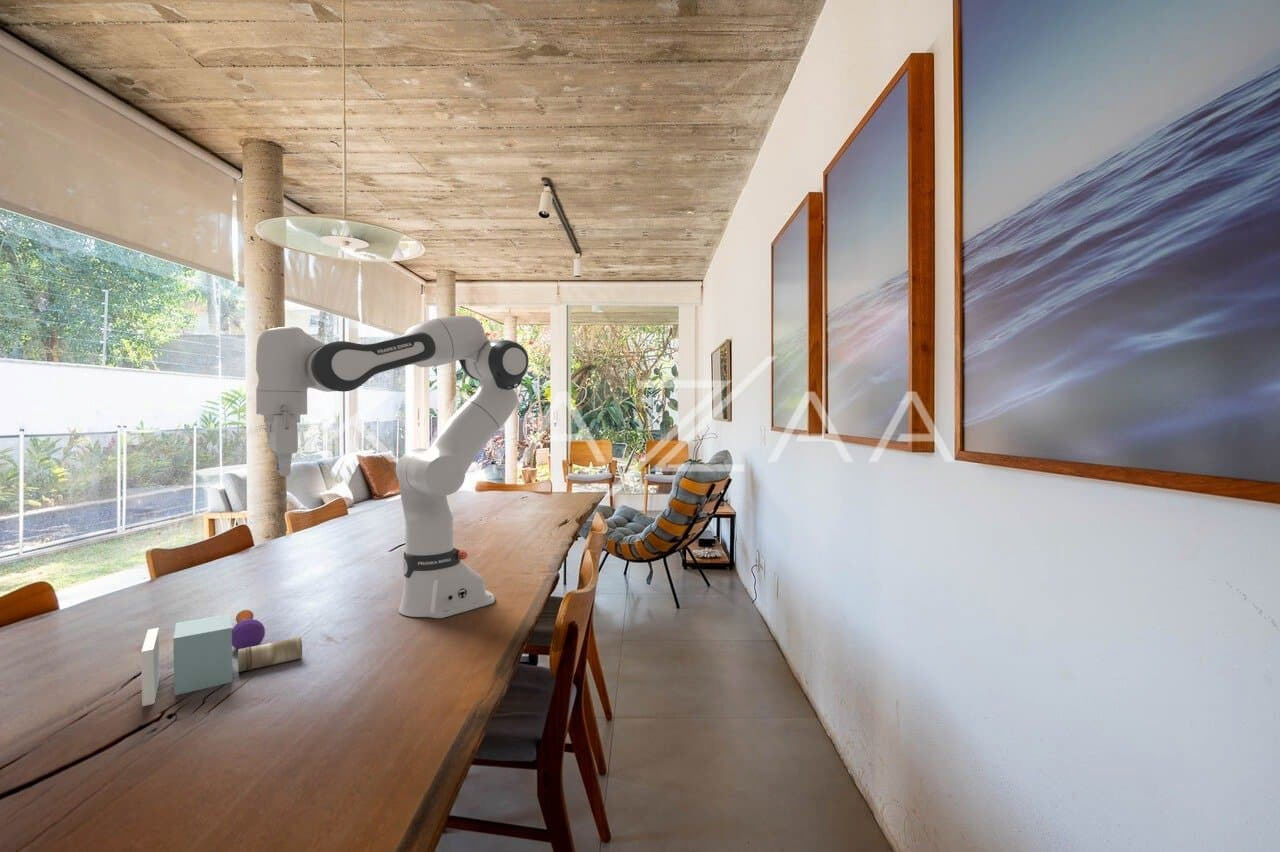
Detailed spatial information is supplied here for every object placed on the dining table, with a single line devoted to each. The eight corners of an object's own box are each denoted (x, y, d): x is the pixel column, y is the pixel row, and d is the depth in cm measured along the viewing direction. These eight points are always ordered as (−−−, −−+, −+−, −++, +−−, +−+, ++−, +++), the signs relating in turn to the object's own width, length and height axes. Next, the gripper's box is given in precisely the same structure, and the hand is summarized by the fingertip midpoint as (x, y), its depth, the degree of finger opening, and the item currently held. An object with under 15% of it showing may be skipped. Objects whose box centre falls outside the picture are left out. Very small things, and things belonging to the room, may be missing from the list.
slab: (159, 676, 103) (158, 627, 103) (154, 703, 93) (153, 649, 93) (148, 679, 102) (147, 629, 102) (142, 706, 92) (141, 651, 92)
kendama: (262, 603, 132) (268, 622, 116) (257, 630, 131) (262, 652, 115) (231, 603, 128) (233, 622, 112) (225, 631, 127) (226, 654, 111)
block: (231, 664, 108) (230, 613, 108) (232, 682, 101) (231, 627, 101) (177, 676, 103) (176, 622, 103) (174, 695, 96) (173, 638, 96)
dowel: (299, 653, 113) (299, 633, 113) (302, 661, 109) (302, 641, 109) (238, 666, 107) (237, 645, 106) (238, 676, 103) (238, 654, 103)
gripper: (306, 405, 109) (306, 477, 110) (295, 407, 126) (295, 469, 126) (267, 405, 106) (267, 479, 106) (260, 406, 122) (261, 470, 122)
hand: (282, 473), depth 116 cm, fingers open, 8 cm apart
